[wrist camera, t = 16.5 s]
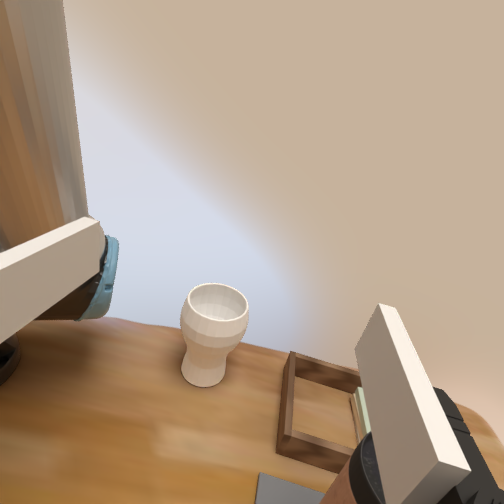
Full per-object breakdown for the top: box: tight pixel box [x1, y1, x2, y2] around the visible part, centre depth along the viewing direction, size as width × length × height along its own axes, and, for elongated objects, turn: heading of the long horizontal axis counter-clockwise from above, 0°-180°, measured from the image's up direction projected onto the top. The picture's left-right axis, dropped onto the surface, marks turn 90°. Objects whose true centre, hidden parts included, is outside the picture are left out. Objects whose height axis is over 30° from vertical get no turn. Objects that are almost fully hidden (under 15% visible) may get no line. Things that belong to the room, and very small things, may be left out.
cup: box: [180, 283, 248, 387], centre depth 49 cm, size 11×11×15 cm
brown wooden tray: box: [276, 351, 362, 474], centre depth 48 cm, size 22×16×4 cm
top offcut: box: [355, 387, 371, 438], centre depth 47 cm, size 8×11×1 cm
